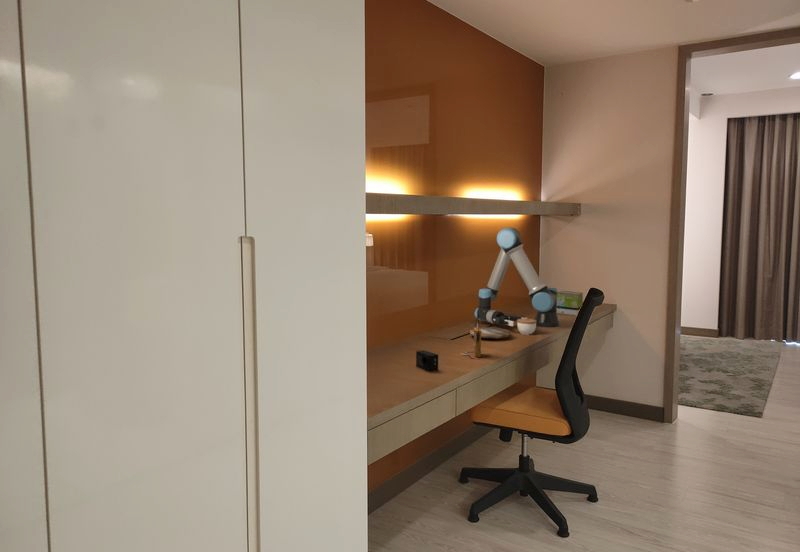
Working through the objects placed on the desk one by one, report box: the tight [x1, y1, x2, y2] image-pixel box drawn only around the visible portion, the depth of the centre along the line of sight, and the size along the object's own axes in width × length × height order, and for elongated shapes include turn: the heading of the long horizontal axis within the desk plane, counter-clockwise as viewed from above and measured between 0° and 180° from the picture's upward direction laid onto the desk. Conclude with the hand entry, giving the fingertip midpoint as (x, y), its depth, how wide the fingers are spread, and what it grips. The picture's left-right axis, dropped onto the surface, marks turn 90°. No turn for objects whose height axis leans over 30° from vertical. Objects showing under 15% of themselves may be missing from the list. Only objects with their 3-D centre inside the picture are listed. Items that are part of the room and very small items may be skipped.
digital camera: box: [415, 349, 439, 372], centre depth 267 cm, size 10×5×7 cm, turn 36°
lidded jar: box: [516, 316, 537, 336], centre depth 344 cm, size 11×11×9 cm
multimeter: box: [461, 314, 482, 360], centre depth 290 cm, size 15×10×20 cm
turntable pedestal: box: [481, 337, 499, 340], centre depth 334 cm, size 10×10×1 cm
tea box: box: [557, 290, 584, 316], centre depth 413 cm, size 15×10×15 cm
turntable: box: [469, 326, 512, 339], centre depth 334 cm, size 22×22×2 cm
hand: (521, 322), depth 346 cm, fingers open, 13 cm apart
